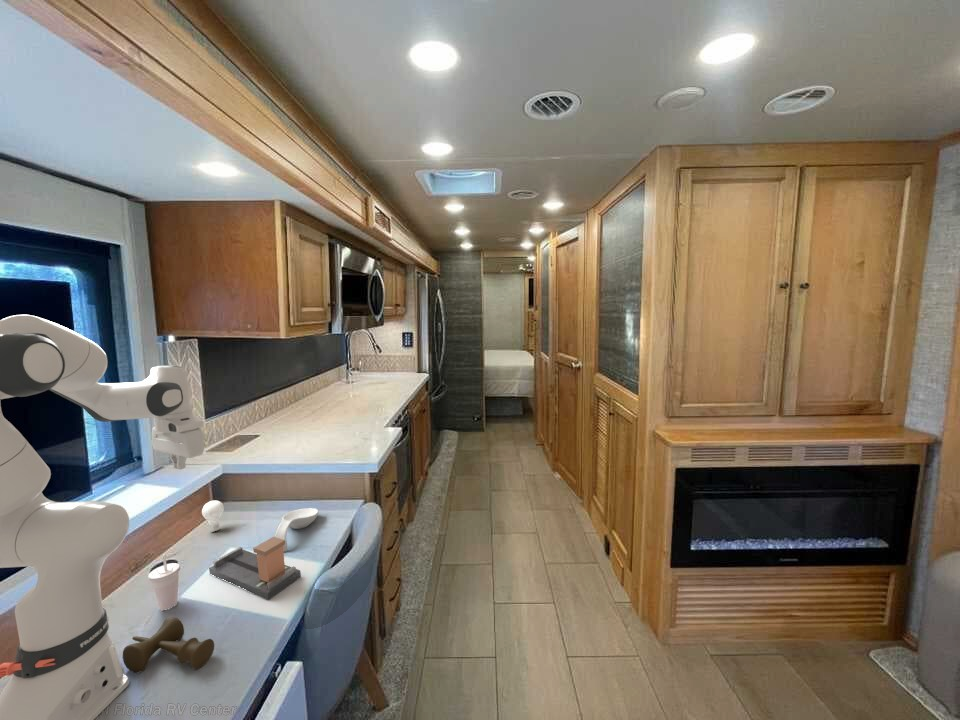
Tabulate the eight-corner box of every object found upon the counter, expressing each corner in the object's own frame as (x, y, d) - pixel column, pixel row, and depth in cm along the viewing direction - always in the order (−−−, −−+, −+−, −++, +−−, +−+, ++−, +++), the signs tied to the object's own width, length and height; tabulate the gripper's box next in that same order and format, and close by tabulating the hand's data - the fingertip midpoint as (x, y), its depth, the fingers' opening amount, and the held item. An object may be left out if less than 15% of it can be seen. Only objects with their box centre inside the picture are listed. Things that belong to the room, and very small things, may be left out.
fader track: (209, 574, 114) (208, 563, 113) (243, 555, 122) (242, 544, 122) (268, 600, 102) (266, 587, 102) (300, 577, 111) (299, 565, 110)
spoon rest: (291, 517, 146) (289, 499, 146) (323, 515, 147) (322, 496, 146) (261, 555, 123) (259, 533, 122) (299, 551, 124) (297, 530, 123)
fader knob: (256, 579, 107) (253, 547, 106) (276, 567, 112) (273, 536, 111) (268, 584, 105) (264, 552, 104) (287, 571, 110) (284, 540, 109)
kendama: (185, 687, 78) (109, 668, 83) (226, 649, 88) (156, 633, 92) (182, 660, 78) (106, 642, 83) (224, 624, 87) (154, 610, 92)
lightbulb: (208, 538, 133) (204, 507, 132) (201, 532, 137) (198, 502, 136) (229, 529, 138) (225, 500, 137) (221, 524, 142) (218, 495, 141)
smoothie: (166, 616, 98) (159, 563, 96) (145, 613, 99) (138, 561, 97) (190, 598, 104) (184, 548, 102) (170, 595, 105) (164, 546, 104)
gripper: (142, 421, 114) (148, 467, 115) (181, 427, 105) (187, 477, 106) (167, 416, 120) (172, 460, 121) (206, 421, 110) (211, 469, 112)
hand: (179, 468), depth 113 cm, fingers closed
